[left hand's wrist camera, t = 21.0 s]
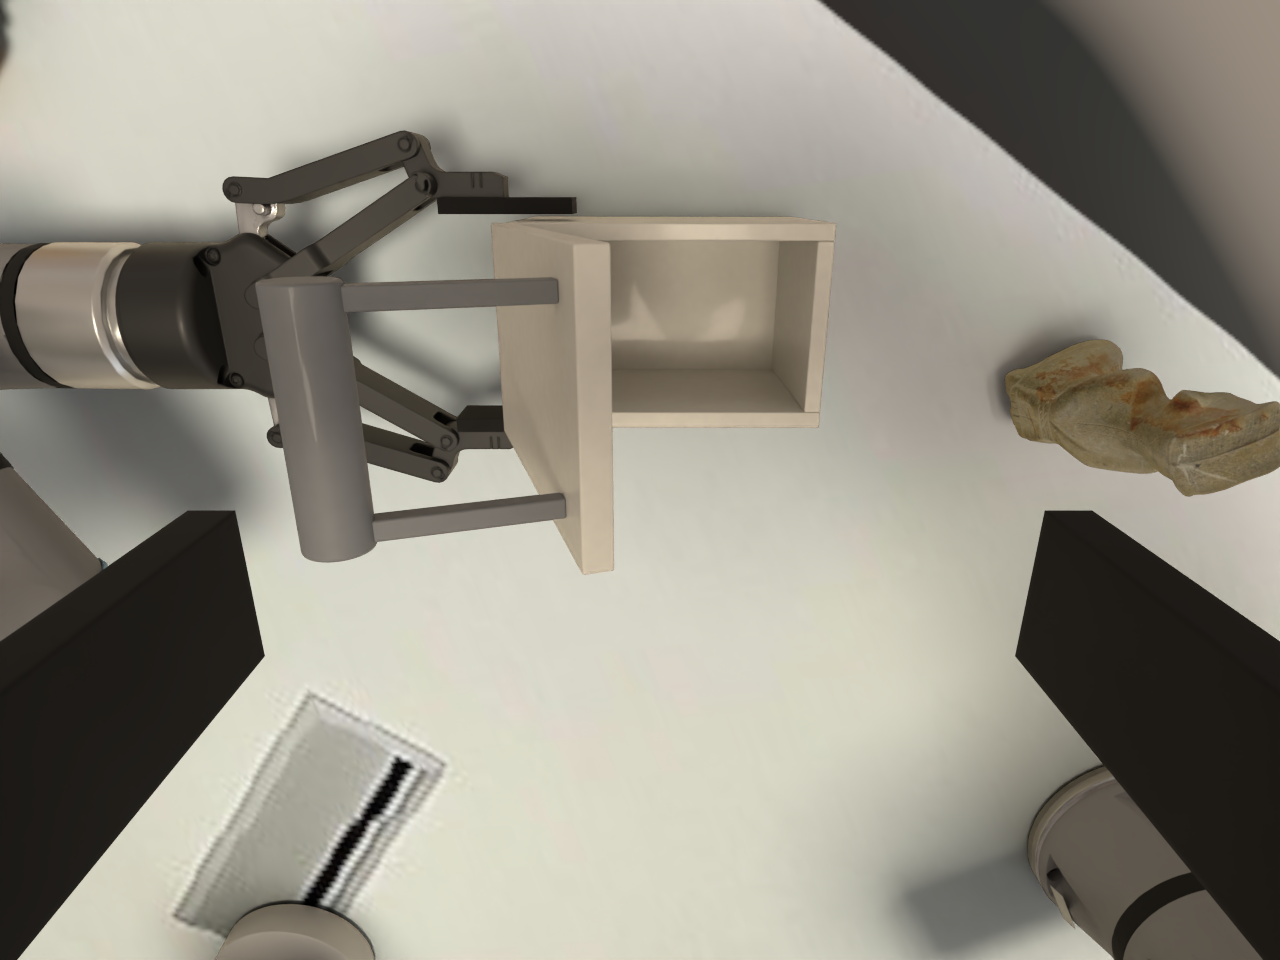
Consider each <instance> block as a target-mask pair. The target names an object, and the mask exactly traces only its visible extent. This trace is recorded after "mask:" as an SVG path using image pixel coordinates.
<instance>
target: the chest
mask: <svg viewBox="0 0 1280 960" xmlns="http://www.w3.org/2000/svg"><path fill="white" fill-rule="evenodd" d="M507 223H515V224H520V225H525V226H529V227H534V228H539V229H544V230H549V231H554V232H559V233H563V234H568V235H573V236H578V237H583V238H588V239H593V240H597V241H602V242H607V243H609V244H610V266H611V351H612V427H754V428H818V427H819V417H820V413H819V412H820V405H821V393H822V382H823V370H824V359H825V348H826V336H827V325H828V314H829V302H830V291H831V279H832V268H833V257H834V245H835V242H834V240H835V233H836V223H831V222H824V221H817V220H810V219H803V218H796V217H605V216H536V217H531V218H526V219H521V220H516V221H512V222H507Z"/></svg>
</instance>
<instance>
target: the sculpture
mask: <svg viewBox="0 0 1280 960" xmlns="http://www.w3.org/2000/svg"><path fill="white" fill-rule="evenodd" d="M1122 364H1123V355H1122V352H1121V350H1120V348H1119V347H1118V346H1116V345H1115V344H1114V343H1112V342H1110V341H1108V340H1089V341H1085V342H1081V343H1078V344H1075V345H1073V346H1070V347H1068V348H1066V349H1064V350H1062V351H1060V352H1058V353H1055V354H1053V355H1051V356H1050V357H1048V358H1046V359H1044V360H1043V361H1041V362H1039V363H1037V364H1035V365H1032V366H1030V367H1027V368H1023V369H1015V370H1013V371H1011V372H1009V373H1008V374H1007V375H1006V376H1005V387H1006V393H1007V395H1009V397H1010V402H1011V408H1010V414H1011V417H1012V420H1013V423H1014V425H1015V427H1016V429H1017V432H1018V434H1019V435H1020V436H1021V437H1022V438H1026V439H1028V440H1030V441H1036V442H1042V443H1056V444H1059V445H1060V446H1062V447H1063V448H1064V449H1065V450H1066V451H1068V452H1069V453H1070V454H1071V455H1072V456H1074V457H1075V458H1076V459H1078V460H1079V461H1080V462H1082V463H1083V464H1085V465H1087V466H1090V467H1094V468H1099V469H1106V470H1113V471H1120V472H1129V473H1139V474H1148V473H1154V472H1157V471H1159V472H1160V473H1161V474H1163V475H1164V476H1166V477H1168V478H1169V479H1171V480H1173V482H1174V484H1175V486H1176V488H1177V489H1178V490H1179V491H1180V492H1181V493H1182V494H1183V495H1185V496H1188V497H1190V496H1193V495H1201V494H1209V493H1214V492H1218V491H1221V490H1225V489H1228V488H1230V487H1233V486H1235V485H1238V484H1240V483H1243V482H1245V481H1248V480H1251V479H1254V478H1257V477H1260V476H1263V475H1266V474H1268V473H1270V472H1272V471H1274V470H1276V469H1277V468H1279V467H1280V404H1279V403H1278V402H1268V403H1263V404H1255V403H1253V402H1251V401H1248V400H1245V399H1242V398H1240V397H1237V396H1235V395H1233V394H1231V393H1225V392H1215V393H1204V392H1197V391H1189V390H1182V391H1180V392H1179V393H1178V394H1176V395H1175V397H1174V398H1173V399H1172V400H1170V399H1168V397H1167V396H1166V394H1165V392H1164V390H1163V387H1162V384H1161V382H1160V380H1159V379H1158V377H1157V376H1156V375H1155V374H1154V373H1153V372H1151V371H1149V370H1146V369H1141V368H1133V369H1126V370H1122Z"/></svg>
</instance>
